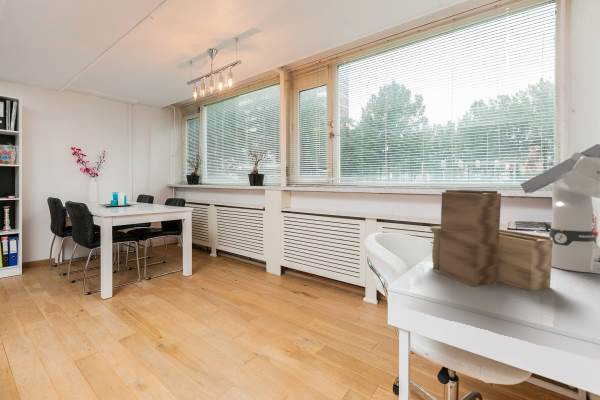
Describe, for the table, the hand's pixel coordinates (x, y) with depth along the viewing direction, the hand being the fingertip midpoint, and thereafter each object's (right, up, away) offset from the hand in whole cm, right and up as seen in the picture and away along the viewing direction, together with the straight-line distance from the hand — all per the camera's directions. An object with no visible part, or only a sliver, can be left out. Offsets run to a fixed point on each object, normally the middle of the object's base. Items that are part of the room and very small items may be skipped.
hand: (579, 155), depth 75 cm
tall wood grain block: (-19, -37, +19) cm, 46 cm away
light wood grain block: (-5, -38, +17) cm, 41 cm away
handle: (-23, -37, +30) cm, 53 cm away
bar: (-1, -5, +3) cm, 6 cm away
